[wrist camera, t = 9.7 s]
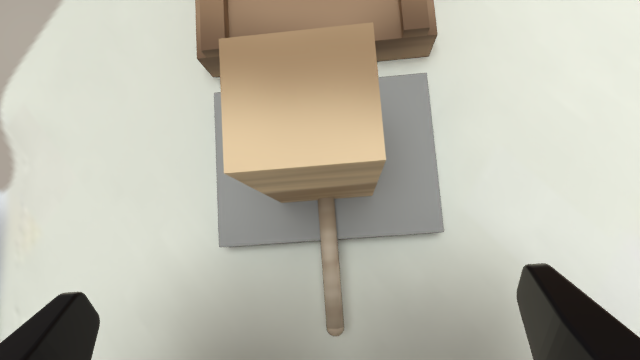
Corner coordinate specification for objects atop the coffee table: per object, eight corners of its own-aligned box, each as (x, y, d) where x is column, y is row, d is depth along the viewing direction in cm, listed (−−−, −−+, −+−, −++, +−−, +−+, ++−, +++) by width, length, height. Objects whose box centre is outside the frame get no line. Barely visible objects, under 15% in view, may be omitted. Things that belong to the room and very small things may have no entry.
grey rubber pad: (438, 232, 22) (444, 231, 21) (227, 246, 23) (219, 247, 21) (422, 83, 23) (426, 72, 22) (222, 101, 24) (213, 92, 22)
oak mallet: (384, 331, 20) (409, 410, 11) (289, 336, 20) (233, 418, 11) (365, 117, 22) (373, 22, 12) (276, 125, 22) (218, 38, 13)
